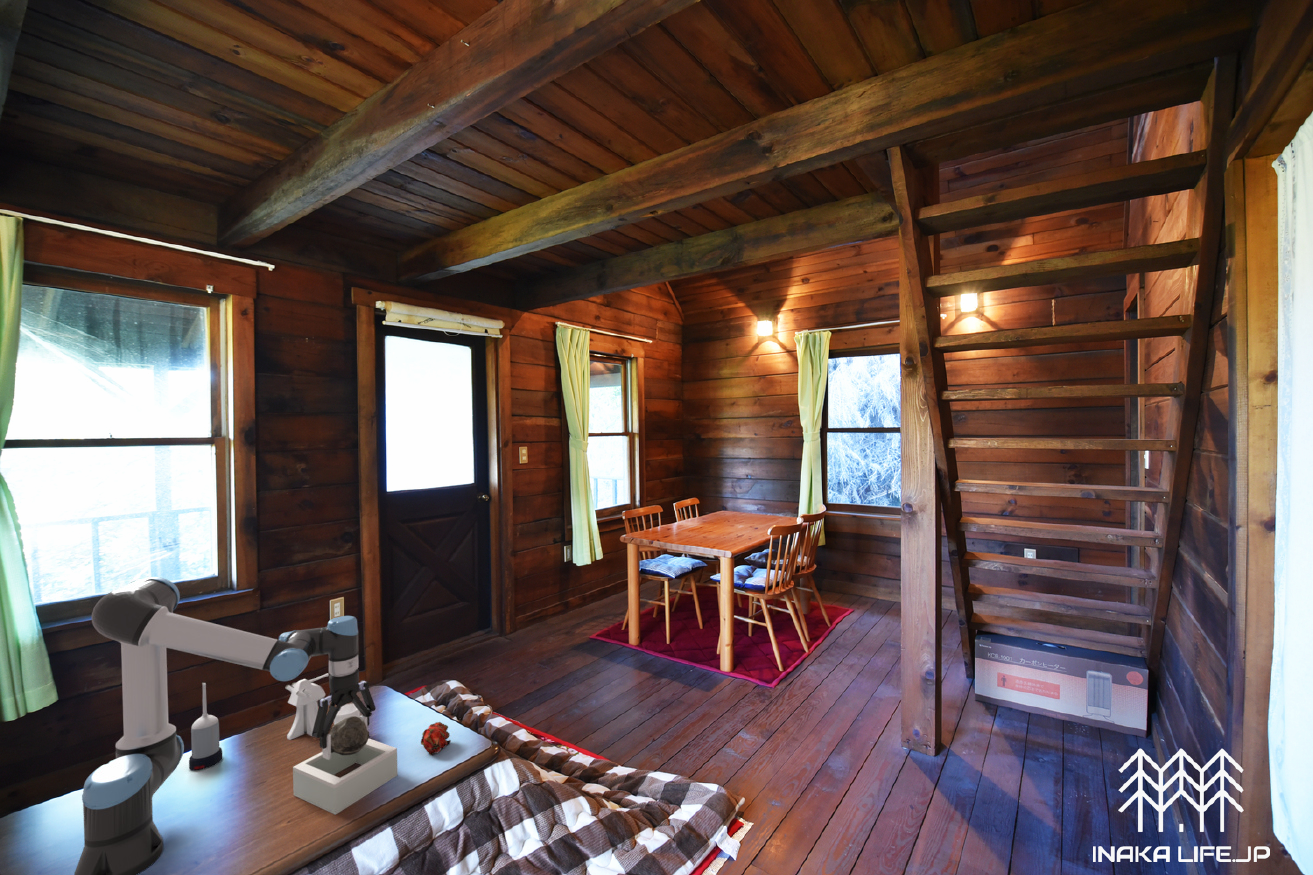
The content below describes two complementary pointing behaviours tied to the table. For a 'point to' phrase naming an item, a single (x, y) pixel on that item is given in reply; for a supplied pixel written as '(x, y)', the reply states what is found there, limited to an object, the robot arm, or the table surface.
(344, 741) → the fossil
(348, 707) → the white cup
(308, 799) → the box
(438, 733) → the dragon fruit
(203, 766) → the humidifier
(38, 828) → the table surface
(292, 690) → the toy gun turret
